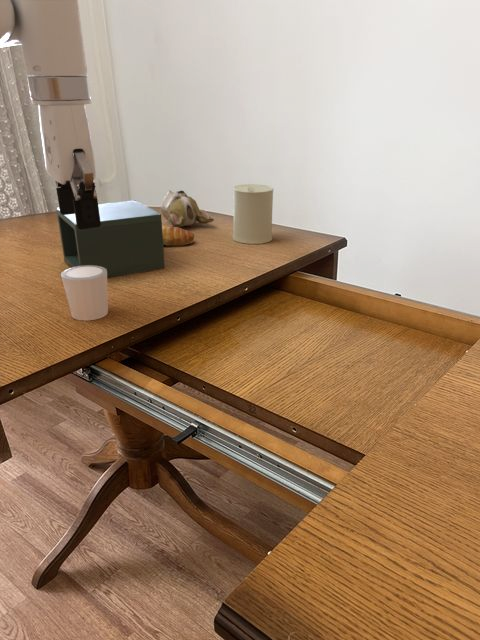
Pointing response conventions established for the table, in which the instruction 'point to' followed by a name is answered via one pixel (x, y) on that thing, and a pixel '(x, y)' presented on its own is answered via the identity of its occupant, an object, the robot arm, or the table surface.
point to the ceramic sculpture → (183, 210)
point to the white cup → (86, 291)
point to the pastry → (176, 236)
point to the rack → (115, 239)
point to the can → (252, 213)
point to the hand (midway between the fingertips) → (80, 220)
